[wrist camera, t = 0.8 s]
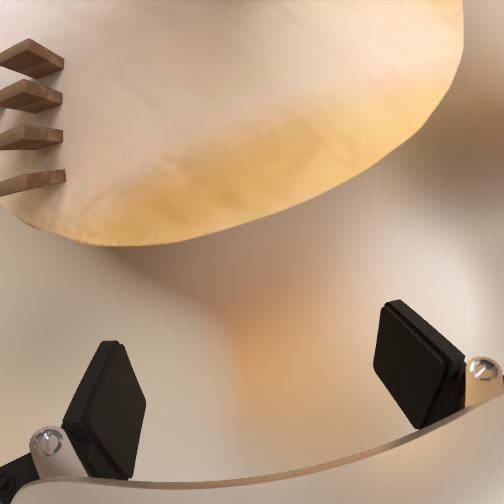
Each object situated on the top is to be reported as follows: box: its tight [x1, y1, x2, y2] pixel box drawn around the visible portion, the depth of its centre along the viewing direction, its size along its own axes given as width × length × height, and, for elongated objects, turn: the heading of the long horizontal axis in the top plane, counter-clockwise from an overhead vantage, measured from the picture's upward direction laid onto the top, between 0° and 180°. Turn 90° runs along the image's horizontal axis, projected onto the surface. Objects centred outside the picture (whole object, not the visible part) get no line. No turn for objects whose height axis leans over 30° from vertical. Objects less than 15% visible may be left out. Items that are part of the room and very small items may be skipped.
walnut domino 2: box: [0, 79, 62, 113], centre depth 24 cm, size 2×5×10 cm, turn 94°
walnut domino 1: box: [0, 38, 64, 79], centre depth 23 cm, size 2×5×10 cm, turn 94°
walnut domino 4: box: [0, 169, 66, 197], centre depth 28 cm, size 2×5×10 cm, turn 94°
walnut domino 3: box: [0, 125, 63, 150], centre depth 26 cm, size 2×5×10 cm, turn 94°
